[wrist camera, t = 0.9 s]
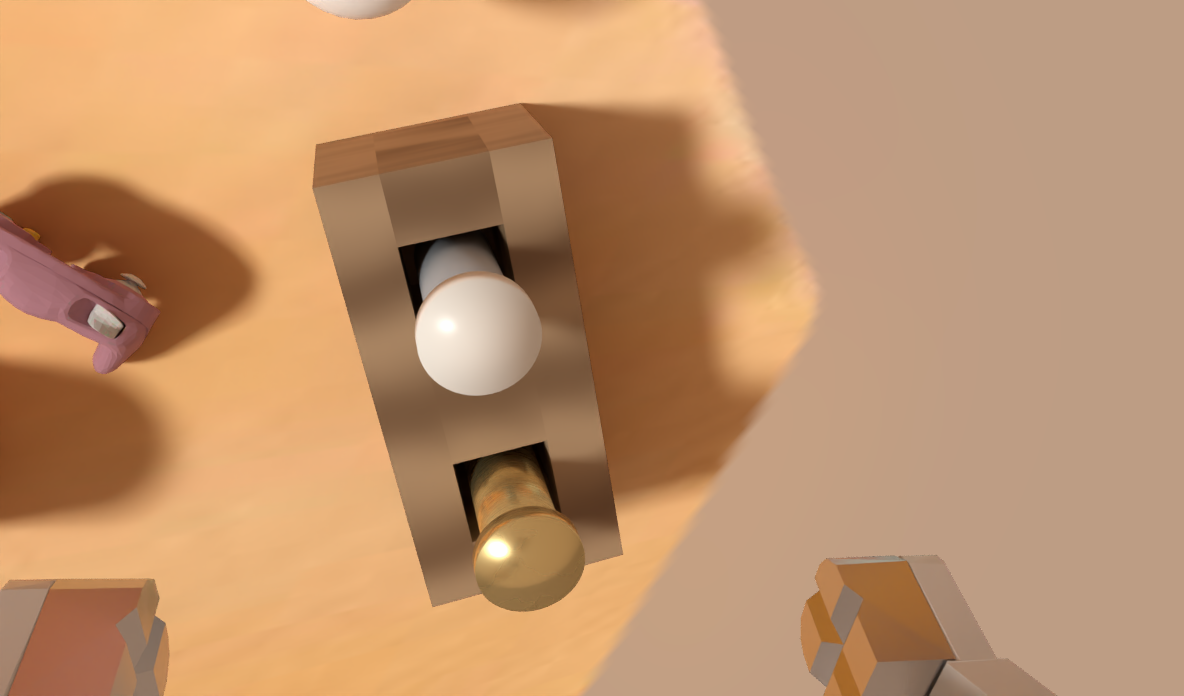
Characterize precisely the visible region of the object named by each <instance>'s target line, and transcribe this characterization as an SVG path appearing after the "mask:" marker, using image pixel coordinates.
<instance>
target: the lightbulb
mask: <svg viewBox="0 0 1184 696" xmlns="http://www.w3.org/2000/svg"><path fill="white" fill-rule="evenodd" d="M307 1H308V2H309V3H311V4H312V5H314V6H316V7H318V8H319V9H321V10H323V11H325V12H327V13H330V14H333V15H336V16H338V17H343V18H350V19H373V18H377V17H381V16H385V15H388V14H390V13H392V12H394V11H396V10H398V9H400V8H402V7H403V6H404V5H406V4H407V3H408V2H409V1H411V0H307Z"/></svg>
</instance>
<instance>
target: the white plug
mask: <svg viewBox="0 0 1184 696" xmlns="http://www.w3.org/2000/svg"><path fill="white" fill-rule="evenodd" d="M414 262H415V267H416V272H417V276H418V281H419V285H420V290H421V294H422V299H423V303H422V304H421V306H420V308H419V311H418V313H417V317H416V321H415V340H416V345H417V351H418V355H419V358H420V361H421V363H422V365H423V367H424V369H425V370H426V372H427V373H428V374H429V375H430V377H431V378H432V379H433V380H434V381H436V382H437V383H438V384H439V385H441V386H443V387H444V388H446V389H448V390H450V391H453V392H456V393H459V394H464V395H472V396H480V395H488V394H493V393H496V392H500V391H502V390H504V389H506V388H508V387H510V386H512V385H514V384H515V383H516V382H518V381H519V380H520V379H521V378H522V377H523V376H525V375H526V374H527V372H528V371H529V370H530V369H531V367H532V366H533V364H534V362H535V361H536V358H537V356H538V354H539V351H540V348H541V342H542V328H541V322H540V319H539V316H538V314H537V311H536V309H535V307H534V305H533V303H532V301H531V299H530V298H529V296H528V295H527V293H526V292H525V291H524V290H523V289H522V288H521V287H520V286H519V285H518V284H517V283H515V282H514V281H512V280H511V279H509V278H507V277H505V276H503V274H502V272H501V269H500V267H499V265H498V263H497V260H496V258H495V256H494V254H493V251H492V249H491V247H490V245H489V243H488V240H487V238H486V237H485V235H484V234H483V232H482V231H481V230H480V229H478V230H474V231H469V232H465V233H460V234H456V235H451V236H447V237H442V238H438V239H433V240H429V241H424V242H420V243H416V245H415V249H414Z"/></svg>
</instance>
